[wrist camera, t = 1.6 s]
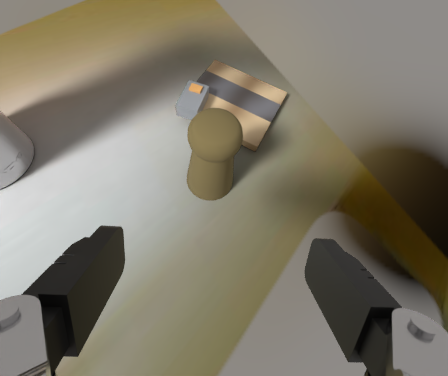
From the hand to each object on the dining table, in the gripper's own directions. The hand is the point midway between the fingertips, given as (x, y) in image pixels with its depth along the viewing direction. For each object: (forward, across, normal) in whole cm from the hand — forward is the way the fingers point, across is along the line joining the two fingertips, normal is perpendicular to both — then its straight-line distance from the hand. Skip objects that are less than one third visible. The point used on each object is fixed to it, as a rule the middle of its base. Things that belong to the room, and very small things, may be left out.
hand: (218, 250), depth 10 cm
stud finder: (+27, +4, -5) cm, 28 cm away
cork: (+20, 0, +4) cm, 21 cm away
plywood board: (+30, -2, -6) cm, 30 cm away
